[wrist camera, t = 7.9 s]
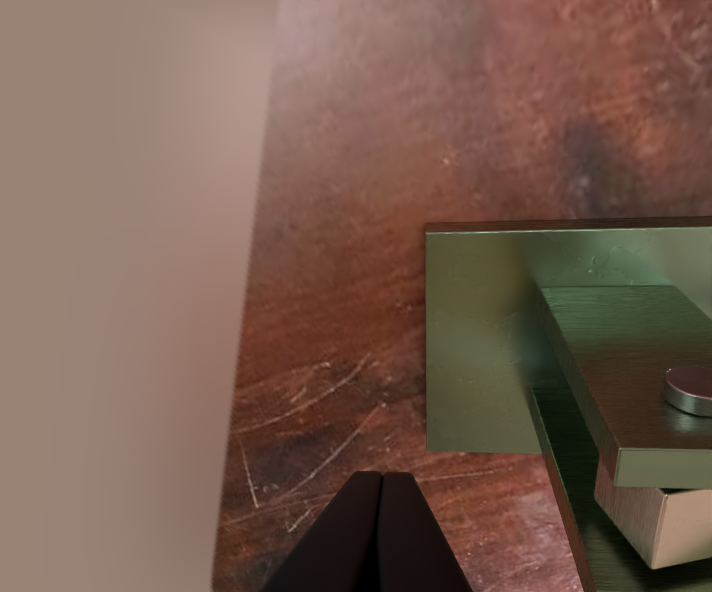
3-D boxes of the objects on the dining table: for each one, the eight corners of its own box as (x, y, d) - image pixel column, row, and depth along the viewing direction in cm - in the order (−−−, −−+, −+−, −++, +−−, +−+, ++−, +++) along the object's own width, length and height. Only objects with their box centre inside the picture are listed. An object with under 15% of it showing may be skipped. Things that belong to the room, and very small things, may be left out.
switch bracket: (793, 213, 19) (1141, 363, 10) (736, 439, 22) (952, 703, 13) (424, 222, 20) (427, 359, 11) (426, 433, 23) (429, 667, 14)
